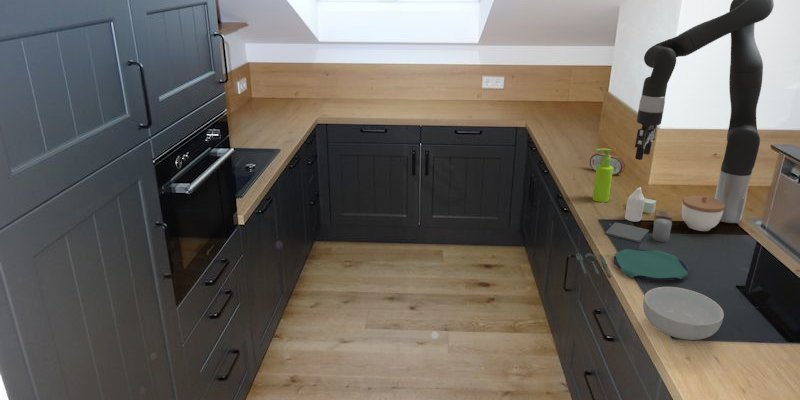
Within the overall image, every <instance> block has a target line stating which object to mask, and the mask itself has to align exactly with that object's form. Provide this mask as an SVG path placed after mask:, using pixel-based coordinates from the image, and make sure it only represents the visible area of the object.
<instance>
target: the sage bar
mask: <svg viewBox="0 0 800 400" xmlns="http://www.w3.org/2000/svg"><path fill="white" fill-rule="evenodd" d="M644 199H645V202H644V208H643V213H647V214H650V215H652V214H653V213H654V212H656V206H657V205H656V204H657V200H656V199H655V200H654V199H650V198H646V197H644Z"/></svg>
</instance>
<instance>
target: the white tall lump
mask: <svg viewBox="0 0 800 400" xmlns="http://www.w3.org/2000/svg"><path fill="white" fill-rule="evenodd" d="M644 198H645V197H644V194H643V192H642V187H641V186H639V187H637V188H636V189H635V190H634V191H633V192H632V193H631V194H630V196H628V197H627V202H626V209H625V213H624V219H625V220H627V221H629V222H634V223H635V222H636V223H637V222H640V221H641V220H642V216H643V213H644V212H643V208H644V202H645V199H644Z"/></svg>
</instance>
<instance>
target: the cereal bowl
mask: <svg viewBox="0 0 800 400" xmlns="http://www.w3.org/2000/svg"><path fill="white" fill-rule="evenodd" d="M642 307H643V313H644V316H645V317H646V319H647V321H649V323H650V324H651V325H652V326H653V327H654V328H655V329H657V330H659V331H660V332H662V333H664V334H666V335H668V336H670V337H673V338H677V339H679V340H680V339H681V340H687V341H688V340H689V341H690V340H691V341H695V340H703V339H707V338H709V337H712V336H713V335H714V334H716V333H717V332H718V331H719V329H720V328H721V326H722V323H723V322H724V317H725V314H724V310H723V308H722V307H721V306H720V305H719V304H718V302H716V301H714V299H711V298H710V297H708V296H707V295H704V294H702V293H700V292H697V291H694V290H691V289H687V288H682V287H678V286H677V287H676V286H660V287H654V288H652V289H650V290H647V292H645V294H644V297H643V305H642Z"/></svg>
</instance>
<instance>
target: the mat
mask: <svg viewBox="0 0 800 400" xmlns="http://www.w3.org/2000/svg"><path fill="white" fill-rule="evenodd" d="M648 233H650V230H649V229H646V228H642V227H638V226H634V225H628V224H625V223H621V222H620V223H619V222H616V221H615V222H614V223H613V224H612V225H611V226H610V227H609V228H608V229H607V230H606V231H605V232H604V234H605V235H606V236H611V237H615V238H619V239H622V240H627V241H631V242H636V243H641V242H642V240H643V239H644V238H645V237H646V236H647V235H648Z"/></svg>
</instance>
